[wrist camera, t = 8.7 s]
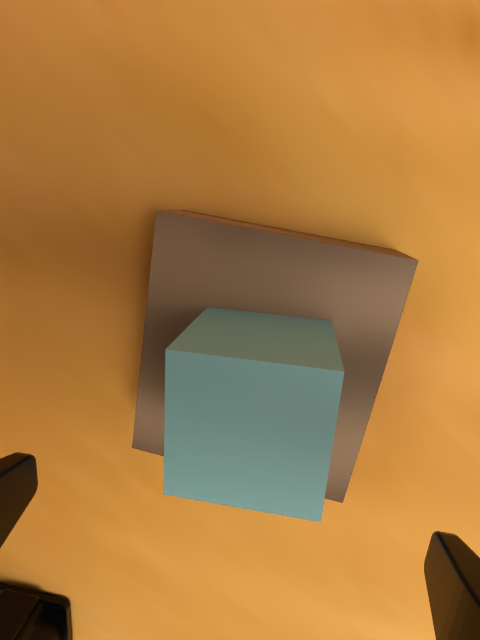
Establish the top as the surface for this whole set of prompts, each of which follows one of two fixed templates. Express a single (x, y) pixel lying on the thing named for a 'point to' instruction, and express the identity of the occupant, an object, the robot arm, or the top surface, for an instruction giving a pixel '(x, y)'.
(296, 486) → the teal cube
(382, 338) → the walnut block
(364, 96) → the top surface
